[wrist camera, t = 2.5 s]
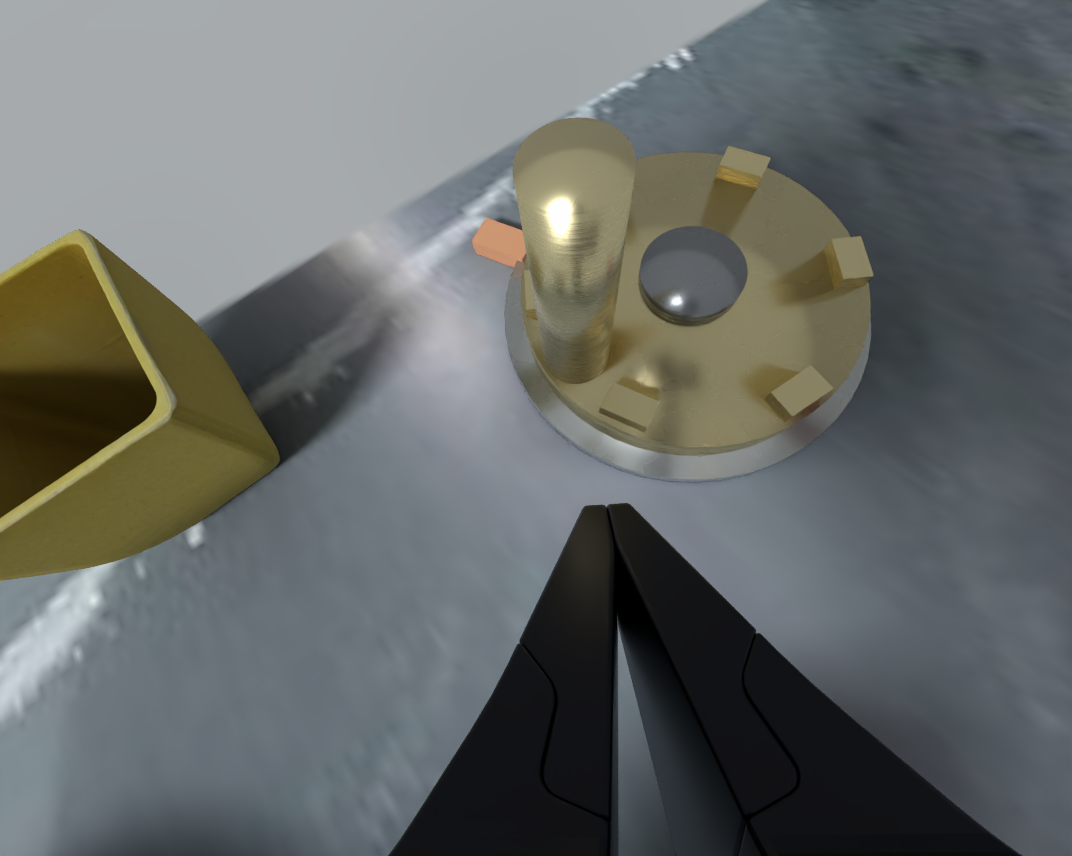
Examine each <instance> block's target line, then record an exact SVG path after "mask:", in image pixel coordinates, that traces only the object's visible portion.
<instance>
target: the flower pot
mask: <svg viewBox="0 0 1072 856" xmlns="http://www.w3.org/2000/svg"><path fill="white" fill-rule="evenodd" d="M279 461H280V457H279V452H278V450H277V448H276V446H275V444H274V442H273V441H272V439H271V437H270V436H269V434H268V432H267V431H266V429H265V427H264V426H263V424H262V422H261V421H260V419H259V417H258V416H257V414H256V412H255V411H254V409H253V407H252V405H251V404H250V402H249V400H248V399H247V397H246V395H245V393H244V392H243V390H242V388H241V386H240V385H239V383H238V381H237V379H236V377H235V376H234V374H233V372H232V370H231V369H230V367H229V365H228V364H227V362H226V360H225V359H224V357H223V356H222V354H221V353H220V351H219V350H218V349H217V347H216V346H215V345H214V343H213V342H212V341H211V339H210V338H209V337H208V336H207V335H206V333H205V332H204V331H203V330H202V329H201V328H200V327H199V326H198V325H197V323H196V322H195V321H194V320H192V318H190V317H189V316H188V315H187V314H186V313H185V312H184V311H183V310H181V309H180V308H179V307H178V306H177V305H176V304H174V303H173V302H172V301H171V300H170V299H168V298H167V297H166V296H165V295H163V294H162V293H161V292H160V291H159V290H157V289H156V288H155V287H154V286H153V285H152V284H150V283H149V282H148V281H147V280H146V279H144V278H143V277H142V276H141V275H139V274H138V273H137V272H136V271H134V270H133V269H132V268H131V267H130V266H128V265H127V264H126V263H125V262H124V261H122V260H121V259H120V258H119V257H118V256H116V255H115V254H114V253H113V252H111V251H110V250H109V249H108V248H106V247H105V246H104V245H103V244H102V243H100V242H99V241H98V240H97V239H95V238H94V237H93V236H92V235H90V234H89V233H87V232H85V231H83V230H80V229H79V230H75V231H73V232H71V233H68V234H67V235H65V236H63V237H61V238H59V239H58V240H56V241H54V242H52V243H50V244H49V245H47V246H45V247H43V248H42V249H40V250H38V251H36V252H35V253H34V254H32V255H30V256H29V257H27V258H26V259H24V260H23V261H21V262H19V263H18V264H16V265H15V266H13V267H12V268H10V269H8V270H6V271H5V272H3V273H1V274H0V581H3V580H10V579H18V578H25V577H32V576H39V575H46V574H52V573H59V572H66V571H72V570H78V569H84V568H89V567H94V566H98V565H102V564H106V563H110V562H114V561H117V560H120V559H123V558H126V557H129V556H132V555H135V554H137V553H140V552H142V551H144V550H147V549H149V548H152V547H154V546H156V545H158V544H160V543H162V542H164V541H166V540H168V539H170V538H172V537H174V536H176V535H178V534H179V533H181V532H183V531H185V530H186V529H188V528H190V527H192V526H194V525H195V524H197V523H198V522H200V521H201V520H203V519H204V518H206V517H207V516H208V515H210V514H211V513H213V512H214V511H215V510H217V509H218V508H220V507H221V506H222V505H224V504H225V503H227V502H228V501H229V500H231V499H232V498H233V497H235V496H236V495H238V494H239V493H240V492H242V491H243V490H245V489H246V488H248V487H249V486H251V485H252V484H253V483H255V482H256V481H258V480H259V479H261V478H262V477H263V476H265V475H266V474H268V473H269V472H271V471H272V470H273V469H274V468H275V467H276V466H277V465H278V464H279Z"/></svg>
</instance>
